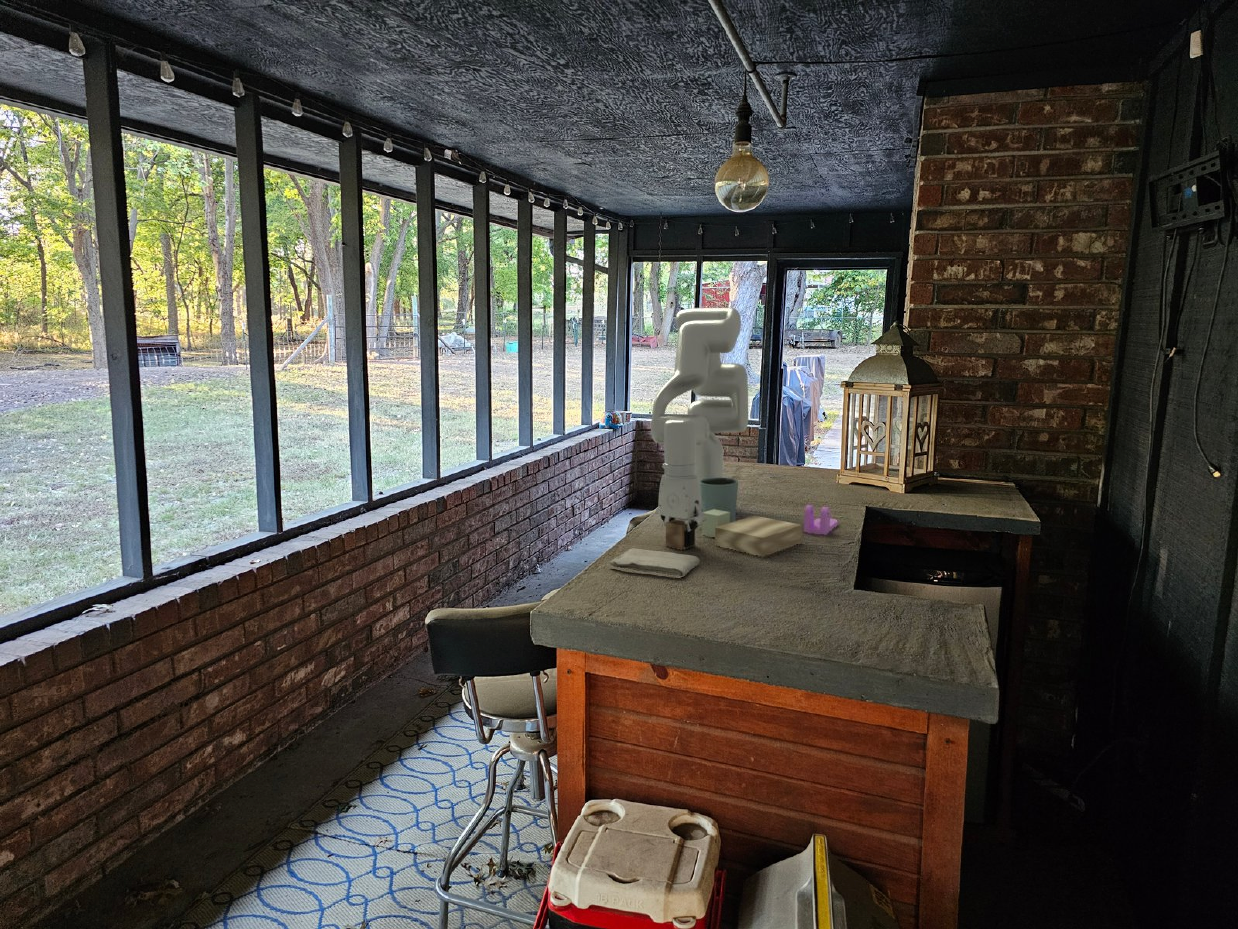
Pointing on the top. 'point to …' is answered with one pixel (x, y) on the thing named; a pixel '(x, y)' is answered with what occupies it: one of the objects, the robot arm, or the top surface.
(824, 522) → the bracket
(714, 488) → the teal cylinder
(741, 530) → the birch block
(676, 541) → the walnut cube
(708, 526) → the sage cube
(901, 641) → the top surface
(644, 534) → the top surface
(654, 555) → the washcloth
